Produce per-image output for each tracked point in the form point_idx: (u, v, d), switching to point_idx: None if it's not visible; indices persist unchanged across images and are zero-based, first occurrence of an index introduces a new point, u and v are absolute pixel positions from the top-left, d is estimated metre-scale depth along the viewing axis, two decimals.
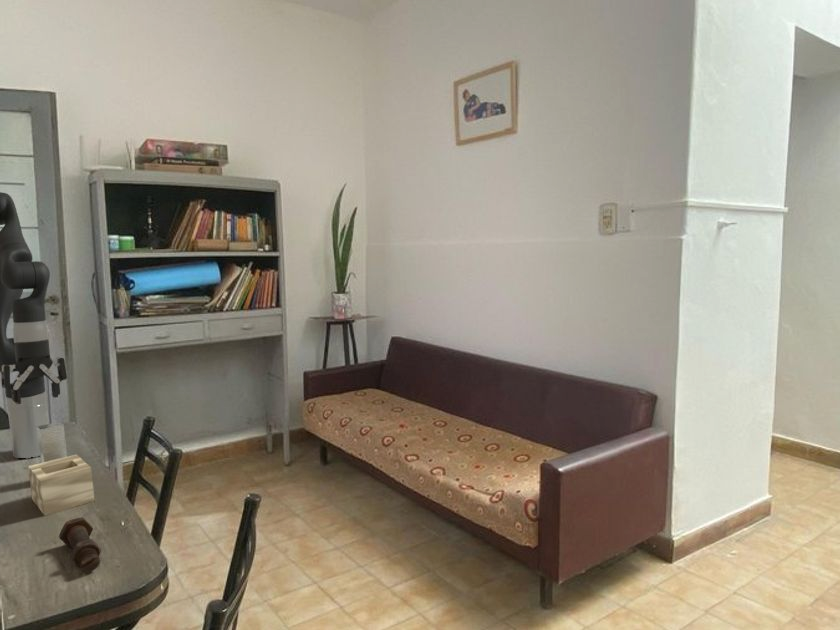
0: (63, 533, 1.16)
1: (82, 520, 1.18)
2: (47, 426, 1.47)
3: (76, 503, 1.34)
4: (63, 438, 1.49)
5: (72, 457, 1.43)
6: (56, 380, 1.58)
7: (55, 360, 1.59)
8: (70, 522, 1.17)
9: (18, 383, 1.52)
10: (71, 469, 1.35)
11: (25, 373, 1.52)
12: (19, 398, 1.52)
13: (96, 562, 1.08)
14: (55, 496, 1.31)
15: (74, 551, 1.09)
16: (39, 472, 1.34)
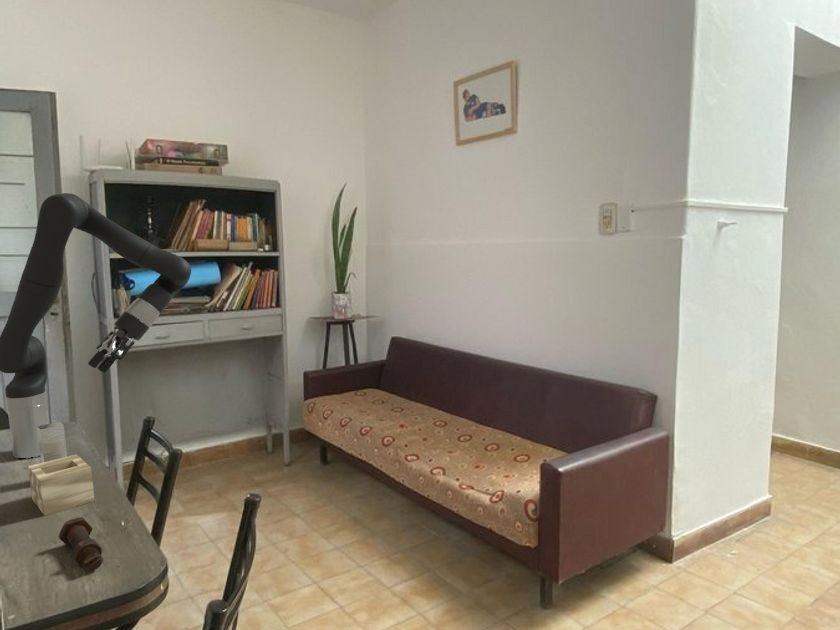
0: (63, 533, 1.16)
1: (82, 520, 1.18)
2: (47, 426, 1.47)
3: (76, 503, 1.34)
4: (63, 438, 1.49)
5: (72, 457, 1.43)
6: (106, 354, 1.60)
7: None
8: (70, 522, 1.17)
9: None
10: (71, 469, 1.35)
11: None
12: None
13: (99, 561, 1.08)
14: (55, 496, 1.31)
15: (76, 550, 1.09)
16: (39, 472, 1.34)
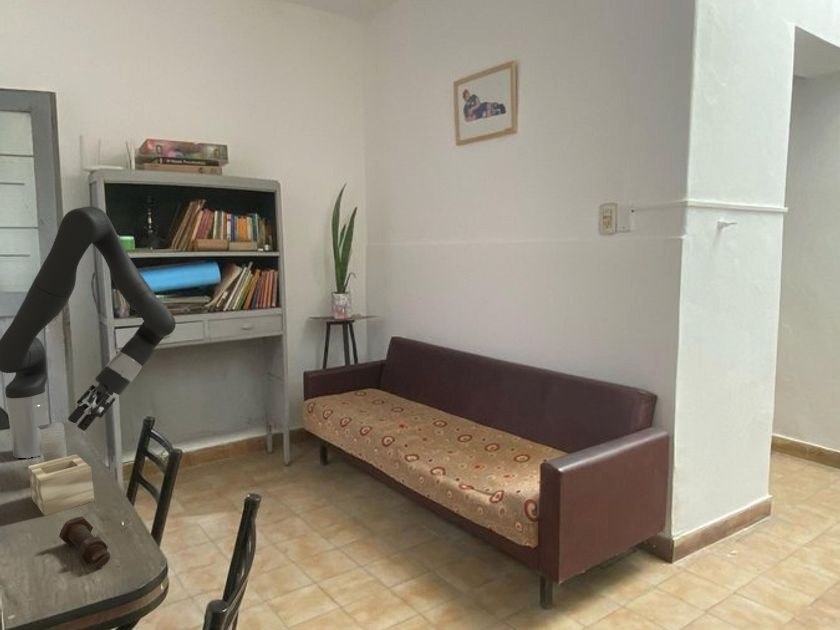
0: (64, 533, 1.16)
1: (82, 519, 1.18)
2: (47, 426, 1.47)
3: (76, 503, 1.34)
4: (63, 438, 1.49)
5: (72, 457, 1.43)
6: None
7: None
8: (70, 521, 1.17)
9: None
10: (71, 469, 1.35)
11: None
12: None
13: (106, 557, 1.09)
14: (55, 496, 1.31)
15: (82, 548, 1.10)
16: (39, 472, 1.34)
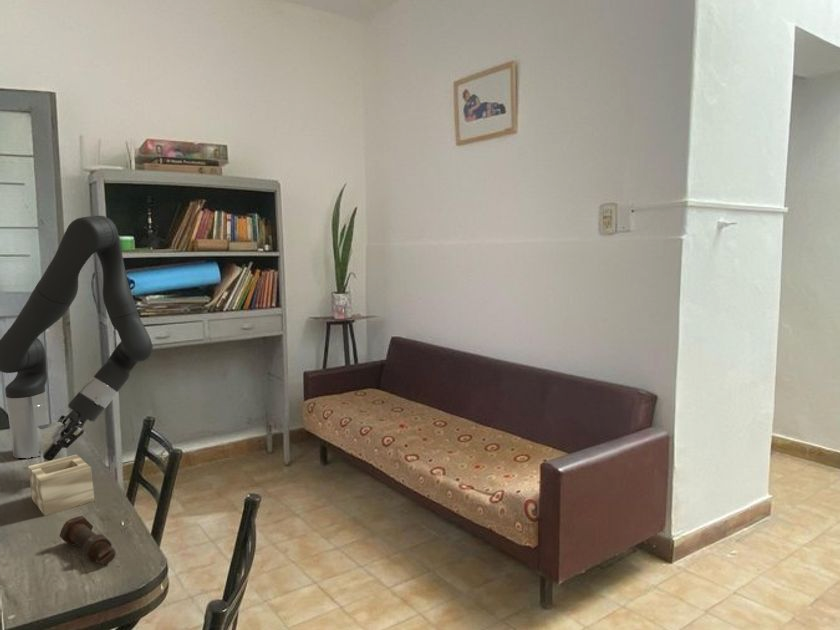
0: (65, 532, 1.16)
1: (83, 518, 1.19)
2: (47, 426, 1.47)
3: (76, 503, 1.34)
4: None
5: (72, 457, 1.43)
6: None
7: None
8: (71, 521, 1.17)
9: None
10: (71, 469, 1.35)
11: None
12: None
13: (112, 554, 1.10)
14: (55, 496, 1.31)
15: (87, 546, 1.11)
16: (39, 472, 1.34)
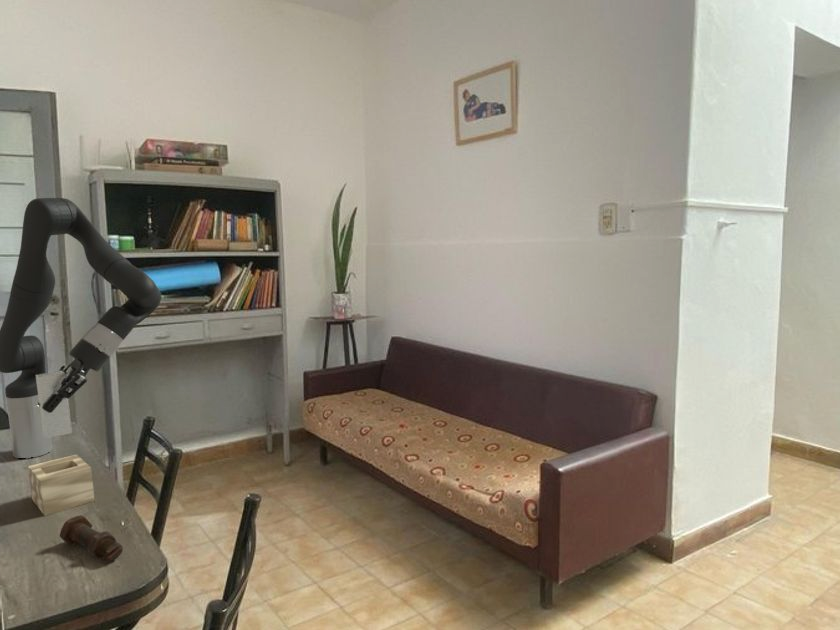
0: (65, 532, 1.16)
1: (82, 517, 1.19)
2: (47, 374, 1.33)
3: (76, 503, 1.34)
4: None
5: (72, 457, 1.43)
6: None
7: None
8: (71, 520, 1.17)
9: None
10: (71, 469, 1.35)
11: None
12: None
13: (120, 550, 1.12)
14: (55, 496, 1.31)
15: (93, 543, 1.11)
16: (39, 472, 1.34)
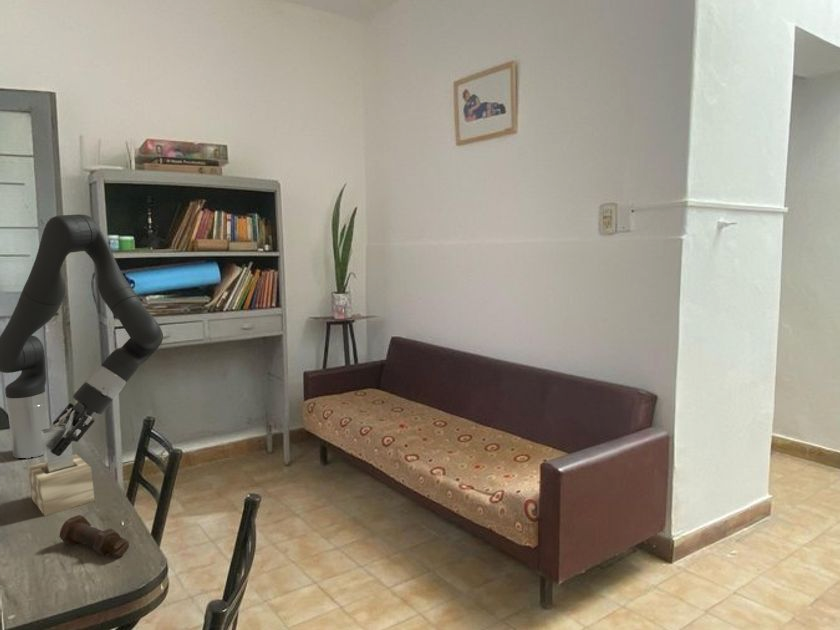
0: (66, 532, 1.16)
1: (81, 517, 1.19)
2: (52, 430, 1.35)
3: (76, 503, 1.34)
4: None
5: None
6: None
7: None
8: (71, 520, 1.17)
9: None
10: (71, 469, 1.35)
11: None
12: None
13: (127, 545, 1.13)
14: (55, 496, 1.31)
15: (98, 541, 1.13)
16: (39, 472, 1.34)
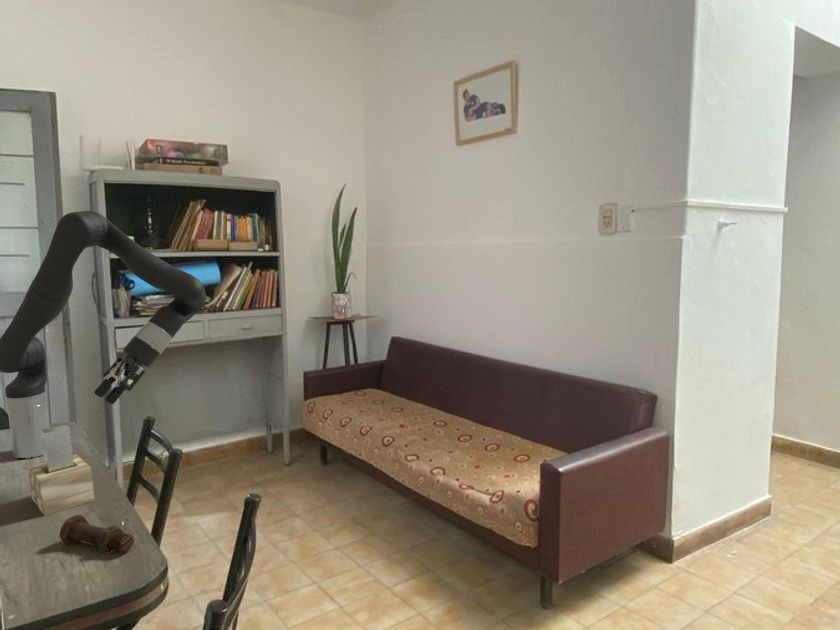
0: (66, 531, 1.16)
1: (81, 516, 1.19)
2: (52, 430, 1.35)
3: (76, 503, 1.34)
4: (69, 443, 1.36)
5: None
6: None
7: None
8: (70, 520, 1.18)
9: None
10: (71, 469, 1.35)
11: None
12: None
13: (132, 541, 1.15)
14: (55, 496, 1.31)
15: (103, 538, 1.14)
16: (39, 472, 1.34)
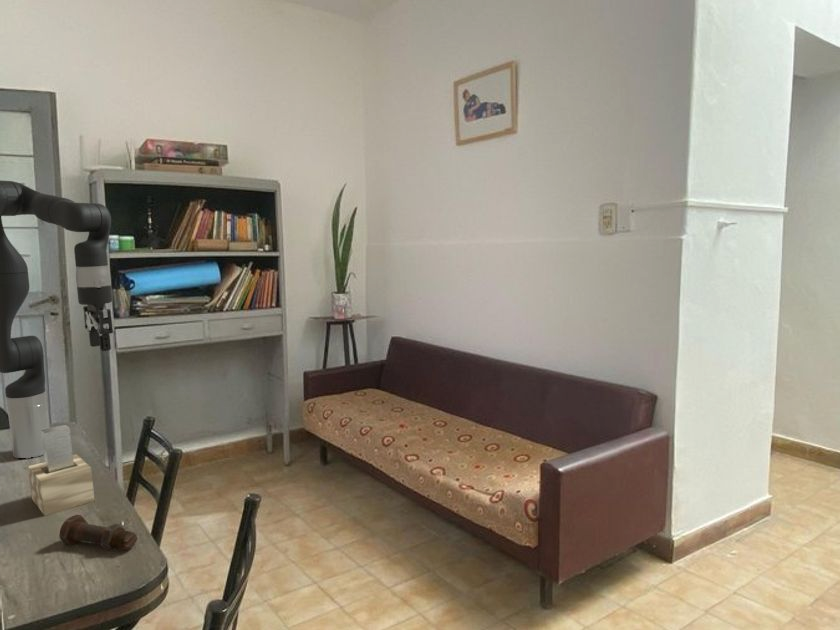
0: (66, 532, 1.16)
1: (80, 516, 1.20)
2: (52, 430, 1.35)
3: (76, 503, 1.34)
4: (69, 443, 1.36)
5: None
6: None
7: None
8: (70, 520, 1.18)
9: None
10: (71, 469, 1.35)
11: None
12: None
13: (135, 538, 1.16)
14: (55, 496, 1.31)
15: (106, 536, 1.14)
16: (39, 472, 1.34)
